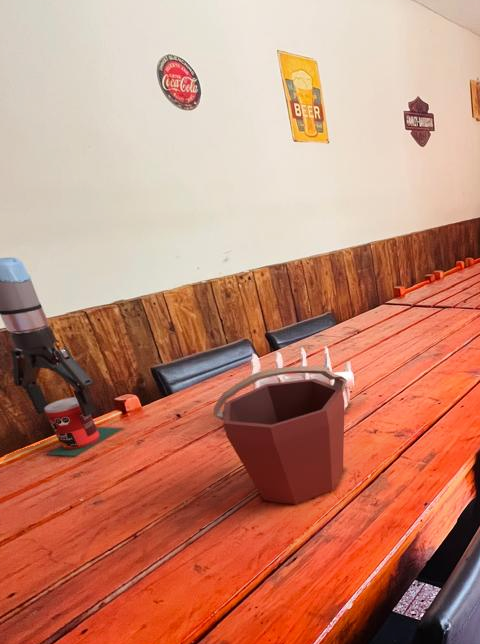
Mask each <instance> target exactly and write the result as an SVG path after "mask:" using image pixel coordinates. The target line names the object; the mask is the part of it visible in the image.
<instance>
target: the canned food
mask: <svg viewBox="0 0 480 644" xmlns="http://www.w3.org/2000/svg"><path fill="white" fill-rule="evenodd" d="M44 410H45V412H44V413H45V414H46V417H47V419H48V421H49V423H50V425H51V427H52V429H53V431H54V434H55V435H56V437H57V440H58V442H59V444H60V445H61V446H62V447H63V448H64V449H67V450H74V449H80V448H83V447H86V446H89V445H91V444H93V443H95V442H96V441H98V440H99V433H98V430H97V428H98V427H97V426H96V424H95V421H94V419H93V417H92V414H90V415H88V416H84V415H83V413H82V410H81V408H80V406H79V403H78V401H77V399H76V396H74V397H66V398H63V399H59V400H56V401H53V402H51V403H48V405H47V406H46V407H45V408H44Z"/></svg>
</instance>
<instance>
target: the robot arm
mask: <svg viewBox="0 0 480 644" xmlns="http://www.w3.org/2000/svg"><path fill="white" fill-rule="evenodd" d="M35 289H36V288H35V286H34V284H33V282H32V277H31V275H30V274H29V273H28V270H27V269H26V266H25V264H24V263H23V261H22V260H21V259H20V258H17V257H0V318H1V320H2V322H3V325H4V327H5V329H6V331H8V332H10V334H9V336H10V337H9V338H10V339H11V342H12V344H13V346H14V347H15V348H13V349H11V350H10V351H9V352H10V355H11V357H12V365H13V367H12V368H13V369H12V370H13V384H14V386H15V387H21V389H23V390H25V392H26V394H27V396H28V398H29V400H30V401H31V403H32V405H33V407H34V409H35V412H36V414H37V415H41V414H43V413H46V412H45V410H44V408H45V407H46V406H47V405H49V403H48V401H47V398H46V397H45V394H44V392H43V390H42V388H41V386H40V385H39V383H38V382H37V380H38V377H39V374H40V371H41V369H44V370H49V371H51V372H54V373H56V374H57V375H58V376H59V377H60V378H61V379H62V380H63V381H65V382H66V383H67V384H69V386H71V387H72V388H73V389H74V391H73V394H74V397H76V399H77V401H78V403H79V406H80V408H81V410H82V413H83V415H84V416H88V415H90V414H91V415H93V414H94V413H96V412H97V410H96V408H95V406H94V403H93V397H92V395H91V393H90V390H89V388H90V387H91V386H94V385H95V382H94V381H93V379H92V378H91V377H90V376H89V375H88V374H87V372H86V371H85V370H84V369H83V368H82V367H81V365H80V364H79V363H78V362H77V360H76V359H75V358H74V357H73V356H72V353H71V352H70V350H69V349H68V348H67V347H64V348H62V349H57V348H56V347H55V343H56V342H57V338H56V336H55V334H54V331H53V329H52V327H51V326H49V320H48V318H47V315H46V313H45V311H44V308H43V305H42V304H41V302H40V300H39V297H38V295H37V291H36V290H35Z"/></svg>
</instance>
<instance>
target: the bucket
mask: <svg viewBox="0 0 480 644" xmlns="http://www.w3.org/2000/svg"><path fill="white" fill-rule="evenodd" d="M332 372H333V371H332ZM332 372H330V371H329V370H327V369H326V368H324V367H323V365H307V366H301V365H298V366H297V365H295V366H283V368H270V369H266V370H263V371H262V370H261V371H260V372H258V373H255V374H253V375H252V374H251V375H250V376H248V377H246V378H244V379H243V380H241V381H239V382H237V383H236V384H234V385H233V386H231V387H230V388H229V389H227V390H225V391H224V392H222V394H221V395H220V397H219V399H218V400H217V402H216V403H215V404H214V407H213V413H212V415H213V416H214V418H216V419H219V420H221V421H222V425H223V428H224V432H225V434H226V435H225V436H226V438H227V440H228V441H229V443H230V445H231V447H232V448H233V450H234V452H235V454H236V455H237V457H238V458H239V459H238V460H240V462H241V464H242V465H243V468H244V469H245V471H246V472H247V474H248V476H249V477H250V479H251V481H252V483H253V484H254V486H255V488H256V490H257V491H258V493H259V495H260V496H261V498H262V500H263V501H269V502H274V503H282V504H289V505H298V504H301V503H303V502H306V501H308V500H311V499H314V498H316V497H318V496H321V495H324V494H327V493H329V492H331V491H333V490H334V488H335V486H336V484H337V483H338V481H339V479H340V477H341V475H342V473H343V471H344V449H345V448H344V447H345V446H344V445H345V444H344V443H345V411H344V406H345V402H344V397H343V391H344V388H345V385H346V382H347V380H346V379H345V378H343V377H342V376H340V375H337V374H335V373H336V372H333V373H332ZM299 373H309V374H322V375H324V376H325V377H327V378H328V379H330V380H333V379H334V384H333V385H330V384H327V383H325V382H322V381H319V380H317V379H308V380H299V381H290V382H281V383H273V384H265V385H263V386H261V387H259V388H257V389H254V388H253V389H251V390H250V391H248V392H245V393H244V394H241V395H239V396H236V397H234V396H235V395H237V394H238V393H239V392H240V391H243V389H246V388H247V387H249V386H251V385H252V384H253V383H254V382H256V381H258V380H260V379H264V378H268V377H276V376H277V375H282V374H285V375H288V374H289V375H291V374H299ZM232 397H234V398H232ZM230 398H232V399H230ZM229 399H230V400H229ZM227 400H228V401H227ZM223 406H224V407H223ZM222 408H223V410H221V409H222Z"/></svg>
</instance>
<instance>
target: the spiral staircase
mask: <svg viewBox="0 0 480 644" xmlns="http://www.w3.org/2000/svg"><path fill="white" fill-rule="evenodd" d="M329 351H330V350H329V348H328V346H327V345H324V358H323V359H324V360H323V361H324V362H323V365H322V366H323V367H324V368H326V369H327V370H329V371H330V372H332V373H335V374H337V375H340V376H342V377H343V378H345V379H346V380H347V382H346V385H345V388H344V391H343V397H344V402H345V406H344V412H346V408H348V405H349V404H348V403H350V402H351V401H350V397H351V396H350V395H351V393H350V391H352V387H355V379H354V377H355V376H354V372H353V371H352V363H351V361H346V364H344V368H345V369H344V371H338V372H333V368H332V364H331V359H330V352H329ZM251 356H252V357H251V358H252V359H250V367H251V375H253V374H255V373H258V372H261V368H262V367H261V366H262V364H261V362H260V360H259V358H260V357H258V355H257V354H256V353H255V352H254V353H253V352H252V354H251ZM275 357H276V358H275V361H274V362H275V367H276V368H283V367H284V361H283V360H284V359H283V356H282V354H281V352H279V351H276V352H275ZM300 360H301V361H300V366H308V362H307V353H306V351H305V348H304V347H300ZM276 368H275V369H276ZM308 379H317V380H319V381H322V382H325V383H327V384H330V385H333V384H334V379H333V380H330V379H328V378H327V377H325V376H324V375H322V374H318V373H297V375H295V374H294V375H286V374H282V375H277V376H272V377H268V378H264V379H260V380H258V381H256V382H254V383H252V384H253V385H252V387H253V390H254V389H257V388H259V387H261V386H263V385H265V384H273V383H281V382H290V381H299V380H308Z"/></svg>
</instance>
